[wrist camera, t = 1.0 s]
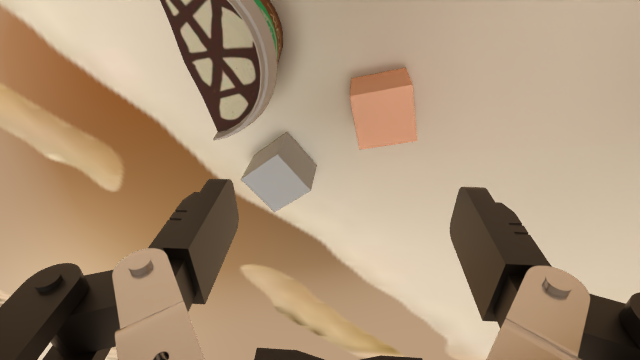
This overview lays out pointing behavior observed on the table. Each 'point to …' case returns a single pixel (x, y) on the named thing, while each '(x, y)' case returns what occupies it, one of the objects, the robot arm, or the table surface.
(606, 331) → the robot arm
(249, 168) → the slate grey block
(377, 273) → the table surface
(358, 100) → the terracotta block
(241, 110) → the food container
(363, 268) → the table surface
